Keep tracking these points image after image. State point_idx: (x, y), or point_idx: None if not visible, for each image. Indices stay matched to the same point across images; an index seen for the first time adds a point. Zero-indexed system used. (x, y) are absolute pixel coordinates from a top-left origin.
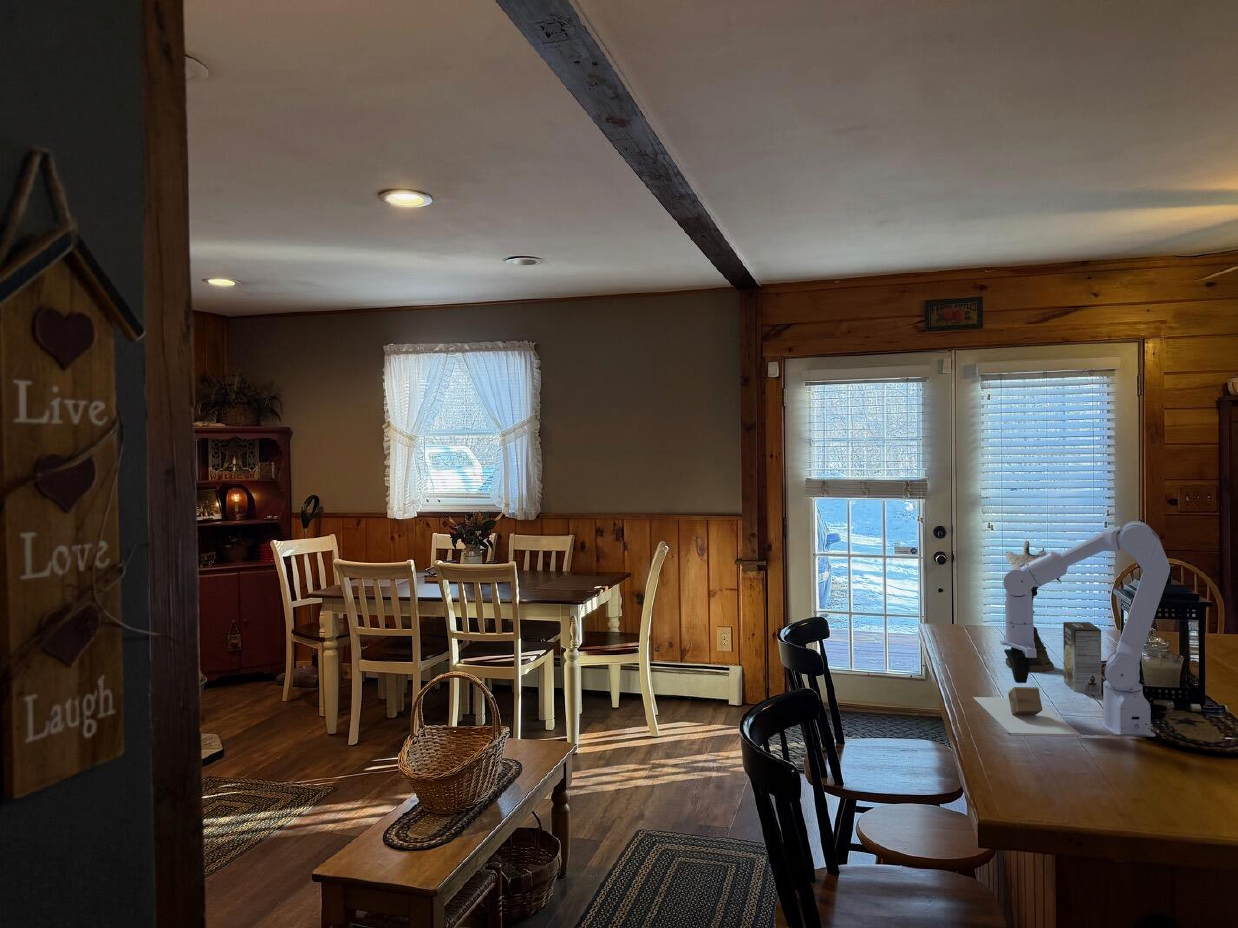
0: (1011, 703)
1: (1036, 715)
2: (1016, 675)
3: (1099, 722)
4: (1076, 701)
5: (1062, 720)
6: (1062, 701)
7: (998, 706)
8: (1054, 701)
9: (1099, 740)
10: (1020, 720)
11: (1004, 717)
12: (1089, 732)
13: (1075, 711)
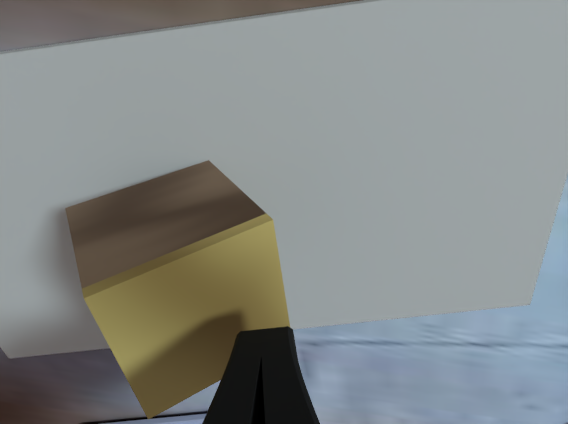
0: (200, 193)
1: None
2: (218, 393)
3: (197, 420)
4: (488, 406)
5: None
6: (493, 374)
7: (374, 114)
8: (497, 354)
9: (7, 384)
10: (107, 184)
11: (133, 108)
12: (94, 377)
13: (358, 385)
